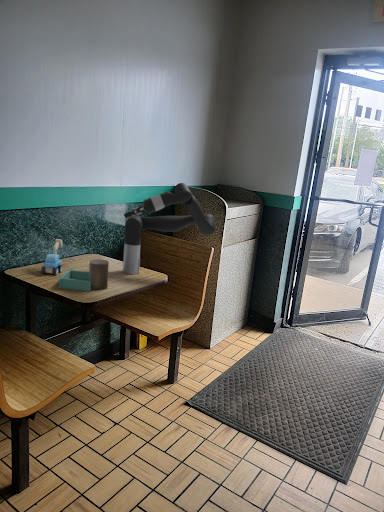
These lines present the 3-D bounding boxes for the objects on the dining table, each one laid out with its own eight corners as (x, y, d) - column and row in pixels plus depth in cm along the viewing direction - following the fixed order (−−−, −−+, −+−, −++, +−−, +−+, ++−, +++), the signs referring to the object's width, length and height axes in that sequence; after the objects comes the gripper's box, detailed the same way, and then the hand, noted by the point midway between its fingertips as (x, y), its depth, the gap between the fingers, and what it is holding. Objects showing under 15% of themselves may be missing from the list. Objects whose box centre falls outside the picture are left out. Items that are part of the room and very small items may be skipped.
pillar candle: (110, 288, 220) (112, 260, 216) (94, 291, 213) (95, 262, 210) (101, 283, 226) (102, 256, 223) (84, 285, 220) (86, 257, 217)
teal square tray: (98, 281, 228) (98, 272, 227) (89, 291, 212) (90, 282, 210) (69, 278, 228) (70, 269, 227) (58, 288, 212) (59, 278, 211)
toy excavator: (67, 268, 245) (68, 239, 241) (55, 276, 229) (56, 245, 225) (52, 266, 246) (53, 237, 241) (40, 274, 229) (40, 243, 225)
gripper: (157, 210, 213) (127, 223, 212) (156, 210, 227) (127, 222, 226) (151, 196, 212) (121, 209, 211) (150, 197, 226) (122, 209, 225)
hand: (124, 216), depth 218 cm, fingers open, 8 cm apart
